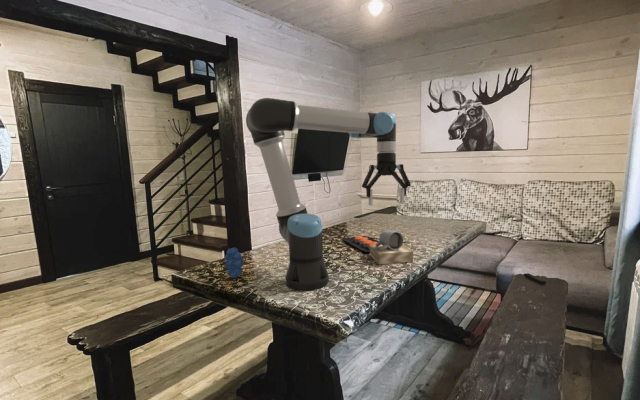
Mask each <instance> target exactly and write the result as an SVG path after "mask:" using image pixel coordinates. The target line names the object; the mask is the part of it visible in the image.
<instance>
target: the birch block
mask: <svg viewBox="0 0 640 400" xmlns="http://www.w3.org/2000/svg"><path fill="white" fill-rule="evenodd" d="M381 246H383V245H382V244H381V245H380V246H378V247H381ZM369 256H370V257H372V259H373V260H374V261H375V262H376V263H377V264H378V265H381V264H382V265H390V264H391V265H393V264H392V263H394V264H406V263H405V262H407V263H414V250H412V249H410V248H408V246H406V245H404V244H403V245H402V246H401V248H400V249H398V250H391V249H389V248H386V249H384V250H377V249H376V247H375V245H370V252H369Z"/></svg>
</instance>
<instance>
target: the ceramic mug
mask: <svg viewBox="0 0 640 400" xmlns="http://www.w3.org/2000/svg"><path fill="white" fill-rule="evenodd" d="M378 241H379V242H378V243H377V244H376V245H375V247H376V249H377V250H384V249H386V248H389V249H391V250H398V249H400V248H401V246H402V245H404V243H403V242H404V236H403V235H402V232H399V231H396V230H390V229H386V230H384V231H382V232H381V233H380V234H379V237H378ZM381 244H382V245H383V246H381V247H378V246H380V245H381Z"/></svg>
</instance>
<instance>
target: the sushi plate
mask: <svg viewBox="0 0 640 400" xmlns="http://www.w3.org/2000/svg"><path fill="white" fill-rule="evenodd" d="M342 240H343V242H345V243H347V244H349V245H350V246H352V247H354V248H356V249H357V250H360V251H361V252H364V253H370V245H376V244H377V243H378V242H379V237H378V238H376V237H371V236H367V235H357V236H350V237H349V236H348V237H344V238H343V239H342ZM403 244H409V242H408V241H407V242H406V241H403Z"/></svg>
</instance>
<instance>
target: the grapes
mask: <svg viewBox="0 0 640 400" xmlns="http://www.w3.org/2000/svg"><path fill="white" fill-rule="evenodd" d="M224 260H225V261H226V263H225V265H224V268H225V269H227V272H226V273H227V275H228V276H229V277H231V278H232V279H234V278H235V279H237V278H238V277H239V276H240V275H241V274H242V272H243V269H242V267H243V266H244V263H245V260H244V258H243V257H242V253H241V252H239V249H238V248H237V247H232V248H228V249H227V251H226V255H225V256H224Z"/></svg>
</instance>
